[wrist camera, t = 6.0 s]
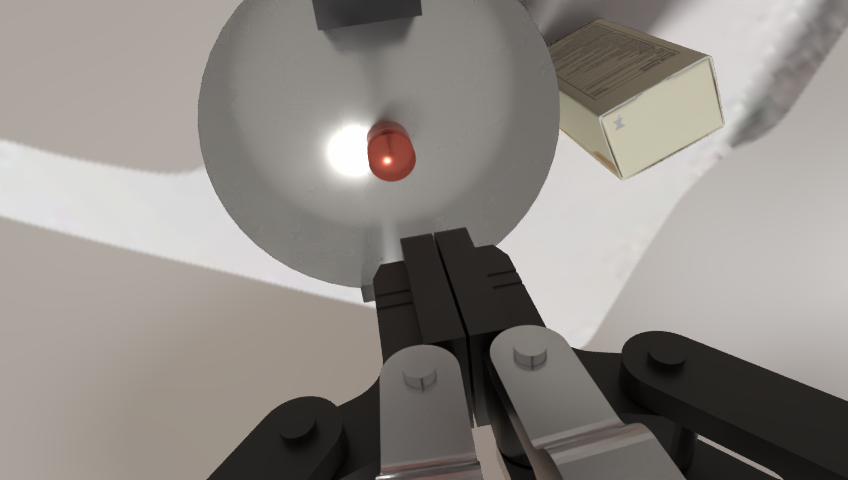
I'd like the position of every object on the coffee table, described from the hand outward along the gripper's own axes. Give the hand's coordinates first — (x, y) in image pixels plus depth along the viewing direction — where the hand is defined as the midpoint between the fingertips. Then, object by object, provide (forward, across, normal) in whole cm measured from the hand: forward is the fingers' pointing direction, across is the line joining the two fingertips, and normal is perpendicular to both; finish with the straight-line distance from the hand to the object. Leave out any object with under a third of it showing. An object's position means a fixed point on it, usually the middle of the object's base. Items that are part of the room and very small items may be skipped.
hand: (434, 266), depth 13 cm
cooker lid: (+15, 0, +2) cm, 15 cm away
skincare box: (+27, -14, +4) cm, 31 cm away
